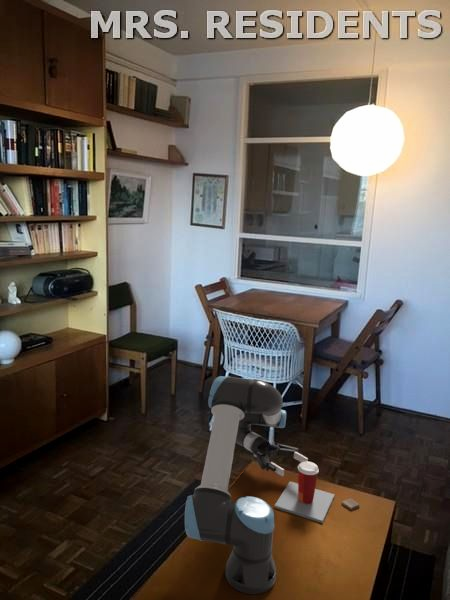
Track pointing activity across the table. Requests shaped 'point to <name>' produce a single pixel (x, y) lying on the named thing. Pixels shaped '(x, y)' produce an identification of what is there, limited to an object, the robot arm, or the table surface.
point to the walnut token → (350, 504)
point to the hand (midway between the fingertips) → (295, 467)
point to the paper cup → (307, 481)
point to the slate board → (310, 511)
